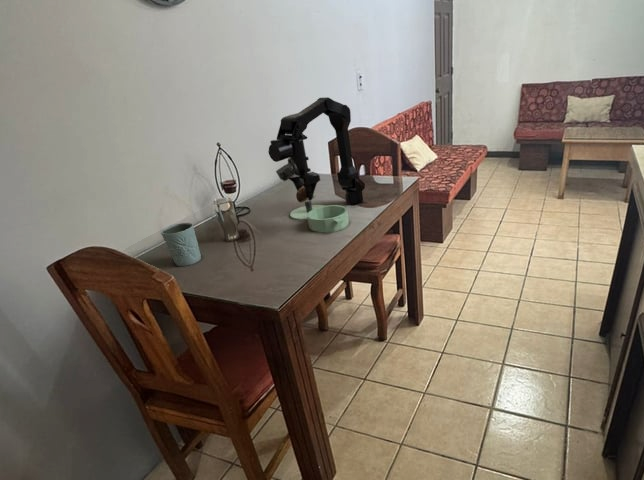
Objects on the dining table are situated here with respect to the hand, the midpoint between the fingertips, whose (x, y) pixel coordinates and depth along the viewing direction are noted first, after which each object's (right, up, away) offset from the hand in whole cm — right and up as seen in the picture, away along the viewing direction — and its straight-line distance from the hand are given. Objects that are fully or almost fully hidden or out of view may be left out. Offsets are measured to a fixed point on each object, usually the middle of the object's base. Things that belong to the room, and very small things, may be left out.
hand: (305, 197), depth 156 cm
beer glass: (-28, -15, +3) cm, 32 cm away
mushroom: (0, -1, +1) cm, 2 cm away
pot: (+8, -9, +6) cm, 14 cm away
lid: (-2, -2, +18) cm, 19 cm away
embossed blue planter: (-39, -24, -10) cm, 47 cm away
